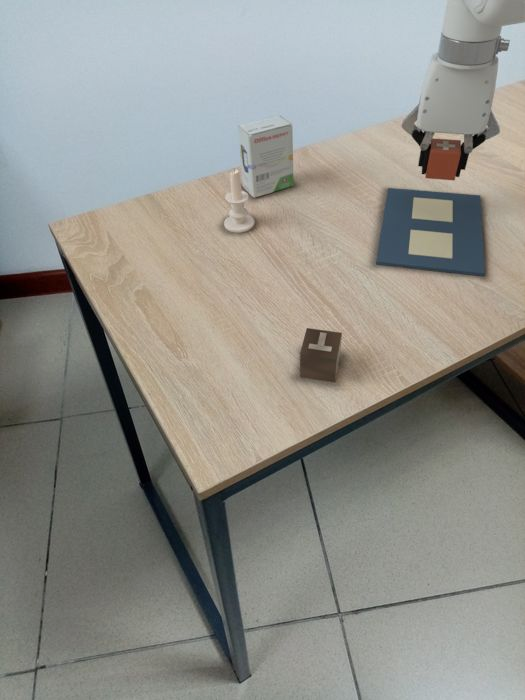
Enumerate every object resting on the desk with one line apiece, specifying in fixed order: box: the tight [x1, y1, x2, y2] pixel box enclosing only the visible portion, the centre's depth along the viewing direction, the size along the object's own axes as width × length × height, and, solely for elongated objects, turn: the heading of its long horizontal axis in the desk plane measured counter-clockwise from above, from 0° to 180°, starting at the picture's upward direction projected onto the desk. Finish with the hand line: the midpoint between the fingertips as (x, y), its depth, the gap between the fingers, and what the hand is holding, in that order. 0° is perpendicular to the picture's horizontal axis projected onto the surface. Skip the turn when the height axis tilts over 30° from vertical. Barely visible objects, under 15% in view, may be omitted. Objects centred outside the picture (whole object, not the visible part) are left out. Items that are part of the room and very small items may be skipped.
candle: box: [223, 168, 255, 234], centre depth 88 cm, size 5×5×10 cm
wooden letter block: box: [299, 327, 343, 383], centre depth 67 cm, size 4×4×5 cm
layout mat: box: [375, 187, 486, 277], centre depth 88 cm, size 16×22×1 cm
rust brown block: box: [424, 138, 462, 181], centre depth 84 cm, size 4×4×5 cm
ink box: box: [237, 115, 294, 199], centre depth 95 cm, size 9×5×12 cm, turn 116°
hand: (440, 170), depth 86 cm, fingers closed on rust brown block, 4 cm apart
